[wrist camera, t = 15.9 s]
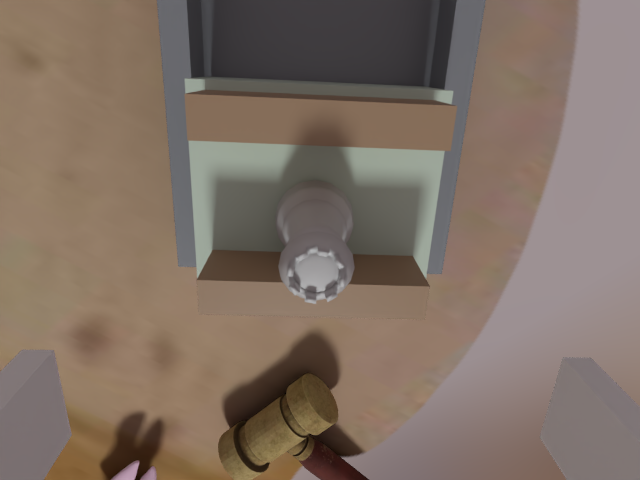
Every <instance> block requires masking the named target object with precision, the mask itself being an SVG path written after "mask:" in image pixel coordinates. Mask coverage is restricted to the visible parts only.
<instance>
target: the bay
mask: <svg viewBox="0 0 640 480" xmlns="http://www.w3.org/2000/svg"><path fill="white" fill-rule="evenodd" d="M485 1H486V0H157V6H158V19H159V31H160V44H161V56H162V69H163V81H164V93H165V106H166V118H167V131H168V143H169V156H170V168H171V181H172V193H173V205H174V218H175V230H176V243H177V255H178V266H180V267H197V266H196V250H195V234H194V219H193V203H192V187H191V172H190V156H189V141H187V125H186V110H185V94H186V93H185V78H197V77H229V78H251V79H273V80H294V81H316V82H337V83H359V84H381V85H402V86H424V87H431V88H438V89H444V90H451V91H453V98H452V105H456V106H457V112H456V119H455V125H454V132H453V138H452V145H451V151H445V152H444V159H443V166H442V173H441V180H440V186H439V193H438V200H437V207H436V214H435V220H434V227H433V234H432V241H431V248H430V255H429V261H428V268H427V274H442V269H443V262H444V256H445V250H446V244H447V238H448V231H449V225H450V219H451V213H452V206H453V200H454V194H455V188H456V181H457V175H458V169H459V163H460V157H461V150H462V144H463V138H464V132H465V125H466V119H467V113H468V107H469V100H470V94H471V88H472V82H473V75H474V69H475V63H476V57H477V51H478V44H479V38H480V32H481V26H482V19H483V13H484V7H485Z"/></svg>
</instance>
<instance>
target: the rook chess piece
mask: <svg viewBox="0 0 640 480" xmlns="http://www.w3.org/2000/svg"><path fill="white" fill-rule="evenodd" d="M275 220H276V221H275V224H276V229H277V233H278V237H279V239H280V240H281V242H282V243H283V244H284V246H285V248H284V250H283V251H282V252H281V256H280V260H279V265H278V268H279V272H280V277H281V280H282V281H283V283H284V284H285V285H286V287H287V288H288V290H289V291H291V292H292V293H293V294H294V295H297V296H299V297H301V298H304V299H305V302H308V303H313V304H316V301H317V300H323V299H327V302H329V301H331V300H333V299H334V298H336V297H338V295H337V294H338V293H340V292H342V291H343V290H344V289H345V287H346V286H347V285H348V284H349V282H350V281H351V279H352V275H353V272H354V268H355V267H354V260H353V254H352V253H351V251H350V250H349V248H348V246H347V245H346V243H347V242H348V241H349V239H350V237H351V233H352V229H353V226H354V222H353V220H354V219H353V212H352V205H351V203H350V202H349V200H348V199H347V197H346V195H345V194H344V192H342V191H341V190H340V189H338V188H337V187H335V186H334V185H332V184H331V183H327V182H322V181H318V180H313V181H307V182H301V183H299V184H297V185H295V186H294V187H292V188H291V189H289V190H287V191H286V193H285V194H284V195H283V197H282V198H281V200H280V201H279V203H278V206H277V211H276V215H275Z"/></svg>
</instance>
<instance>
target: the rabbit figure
mask: <svg viewBox="0 0 640 480" xmlns="http://www.w3.org/2000/svg"><path fill="white" fill-rule="evenodd" d="M138 466H139V461H138V460H137V461H134V462H132V463H131V464H129V465H128V466H127V467H125V468H124V469H123V470H121V471H120V472H119V473H118V474H116V475H115V476H114V477H113V478H112V479H111V480H135V477H136V474H137V470H138ZM140 480H156V469H155V467H154V466H152V467H151V468H150V469H149V470H148V471H147V472H146V473H145V474H144V475H143V476H142V478H141V479H140Z"/></svg>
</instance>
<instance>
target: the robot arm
mask: <svg viewBox="0 0 640 480" xmlns="http://www.w3.org/2000/svg"><path fill="white" fill-rule="evenodd" d="M71 435H72V434H71V430H70V425H69V420H68V415H67V411H66V406H65V401H64V396H63V391H62V387H61V382H60V377H59V372H58V367H57V363H56V358H55V353H54V350H21V351H20V352H19V353H18V354H17V355H16V356H15V357H14V358H13V359H12V360H11V361H10V362H9V363H8V364H7V365H6V366H5V367H4V369H3V370H2V371H1V372H0V480H44V478H45V477H46V475H47V473H48V472H49V470H50V469H51V467H52V465H53V464H54V462H55V461H56V459H57V457H58V456H59V454H60V453H61V451H62V450H63V448H64V446H65V445H66V443H67V442H68V440H69V438H70V437H71ZM540 439H541V440H542V442H543V443H544V445H545V446H546V448H547V449H548V451H549V453H550V454H551V456H552V457H553V459H554V460H555V462H556V464H557V465H558V467H559V468H560V470H561V471H562V473H563V474H564V476H565V478H566V479H567V480H640V407H639V406H638V405H637V403H635V401H634V400H633V399H631V397H630V396H628V395H627V393H626V392H625V391H623V390H622V388H621V387H620V386H619V385H617V383H616V382H614V380H613V379H612V378H611V377H609V375H608V374H607V373H606V372H605V371H604V370H602V369H601V367H600V366H599V365H597V364H596V362H595V361H594V360H593V359H591V358H564V357H563V359H562V362H561V366H560V369H559V373H558V376H557V380H556V383H555V387H554V390H553V393H552V397H551V400H550V403H549V407H548V411H547V414H546V417H545V421H544V424H543V427H542V431H541V434H540Z"/></svg>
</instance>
